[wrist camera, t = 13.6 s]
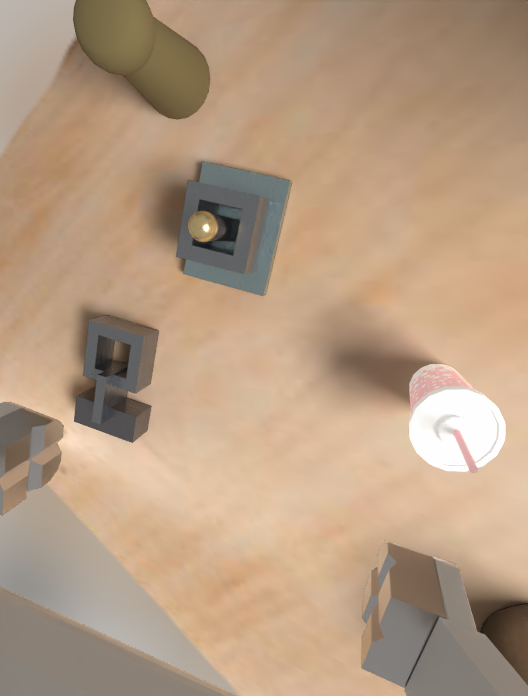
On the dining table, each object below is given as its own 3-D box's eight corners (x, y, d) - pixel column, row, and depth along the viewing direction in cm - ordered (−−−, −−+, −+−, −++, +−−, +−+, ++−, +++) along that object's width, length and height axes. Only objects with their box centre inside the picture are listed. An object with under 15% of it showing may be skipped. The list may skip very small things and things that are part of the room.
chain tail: (103, 313, 43) (74, 320, 39) (163, 332, 42) (140, 341, 38) (92, 410, 46) (64, 426, 42) (147, 430, 45) (124, 449, 41)
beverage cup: (386, 397, 38) (395, 479, 24) (425, 342, 36) (457, 398, 22) (446, 432, 37) (488, 535, 24) (489, 378, 35) (560, 457, 22)
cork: (210, 38, 34) (141, -52, 24) (209, 118, 36) (144, 66, 25) (145, 43, 36) (52, -41, 25) (147, 120, 37) (60, 71, 27)
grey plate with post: (207, 163, 37) (157, 138, 28) (292, 182, 35) (267, 162, 27) (187, 273, 40) (137, 280, 31) (265, 294, 38) (235, 309, 30)
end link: (209, 187, 36) (187, 179, 32) (273, 201, 35) (260, 195, 31) (197, 255, 38) (175, 256, 34) (258, 271, 37) (244, 274, 33)
